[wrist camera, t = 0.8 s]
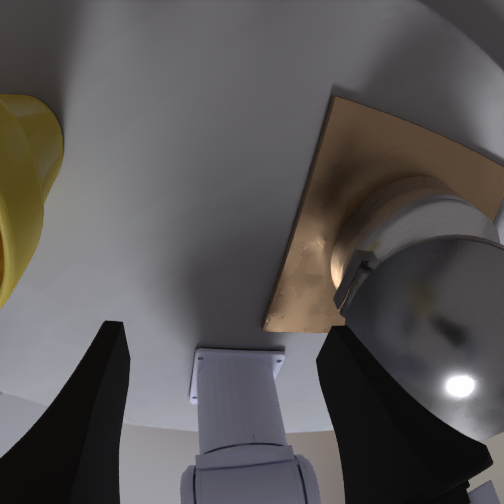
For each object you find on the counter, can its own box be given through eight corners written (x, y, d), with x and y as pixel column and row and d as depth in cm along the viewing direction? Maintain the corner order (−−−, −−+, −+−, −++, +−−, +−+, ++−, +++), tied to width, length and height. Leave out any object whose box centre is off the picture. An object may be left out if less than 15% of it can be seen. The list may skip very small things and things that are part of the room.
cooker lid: (316, 355, 21) (305, 366, 20) (398, 181, 14) (390, 184, 13) (492, 478, 13) (488, 492, 12) (630, 353, 6) (635, 367, 5)
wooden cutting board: (437, 325, 30) (460, 362, 26) (261, 325, 26) (272, 381, 21) (519, 176, 21) (560, 206, 16) (332, 95, 16) (376, 114, 12)
